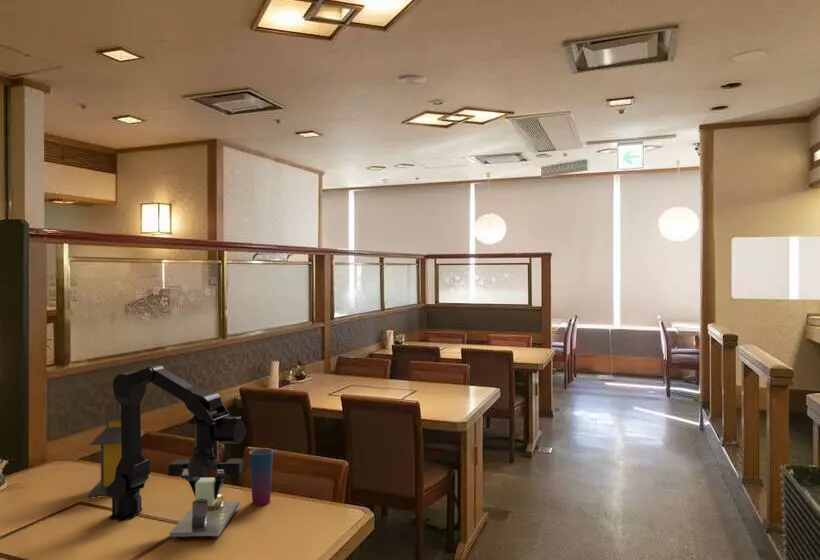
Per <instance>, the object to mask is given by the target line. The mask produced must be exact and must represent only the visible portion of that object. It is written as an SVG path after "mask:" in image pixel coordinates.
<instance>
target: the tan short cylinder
mask: <svg viewBox="0 0 820 560" xmlns="http://www.w3.org/2000/svg"><path fill="white" fill-rule="evenodd" d="M223 501H224V493H223V492H219V494H218V500H217V501H216V502H215V504H214V505H213V506H207V508H210V509H216V508H220V507H222V506H223Z"/></svg>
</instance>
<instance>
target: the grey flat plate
mask: <svg viewBox="0 0 820 560" xmlns="http://www.w3.org/2000/svg"><path fill="white" fill-rule="evenodd" d="M240 504H241V502H240V500H232V501H231V500H229V501H228V500H227V501H224V500H223V506H222V507H220V508H216V509H210V508H207V525H206V526H205V527H202V528H193V527H192V508H193V506H192V507H191V508H190V509H189V511H187V513H186V514H185V515H184V516H183V517H182V518H181V519H180V521H179V522H177V524H176V525H175V526H174V527H173V528H172V529H171V531H170V532H169V537H170V538H171V537H172V538H175V540H182V538H183V537H211V539H217V538H218V537H219V535H221V533H222V531H223V530H224V529H225V527H226V526H227V524H228V522H229V521H230V520H231V518H232V516H233V515H234V514H235V512H236V511H237V509H238V508H239V507H240Z"/></svg>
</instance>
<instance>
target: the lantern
mask: <svg viewBox="0 0 820 560" xmlns="http://www.w3.org/2000/svg"><path fill="white" fill-rule="evenodd" d="M112 396H113V399H112V400H113V401H114V402H115V403H116V404H115V406H116V407H115V409H114V410H112V412H110V413H109V415H108V416H107V417H106V418H105V419H104V420H103V422H106V428H104V429H103V430H102V432H101V433H100V434H98V436H96V437H95V439H93V440H92V441H91V442H90V443H89V446H100V480H99V481H98V482H97V483H96V484H95V485H94V486H93V488H92V489H91V490H90V491H89V492H88V493H87V497H88V496H89V497H98V496H107V492H106V489H107V488H108V486H109V485H110V484H111V483H112V482H113V481H114V480H115V472H116V467H117V465H118V463H119V461H120V459H121V456H122V453H121V406H120V404H119V402H118V401H117V399H116V398H115V396H114V395H112ZM145 434H146V431H144V430H143V429H141V438H142V437H143V436H144V435H145ZM139 490H140V491H141V489H139Z"/></svg>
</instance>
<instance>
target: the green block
mask: <svg viewBox="0 0 820 560" xmlns="http://www.w3.org/2000/svg"><path fill="white" fill-rule="evenodd" d="M214 492H215V476H214V477H203V478H201V477H199V480H198V481H197V482H196V483H195V495H194V497H195V499H194V501H195V500H198V499H206V500H207V501H208V504H207V506H213V505H214V504H215V502H216V501H217V500H218V497H217V499H215V497H214Z"/></svg>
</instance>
